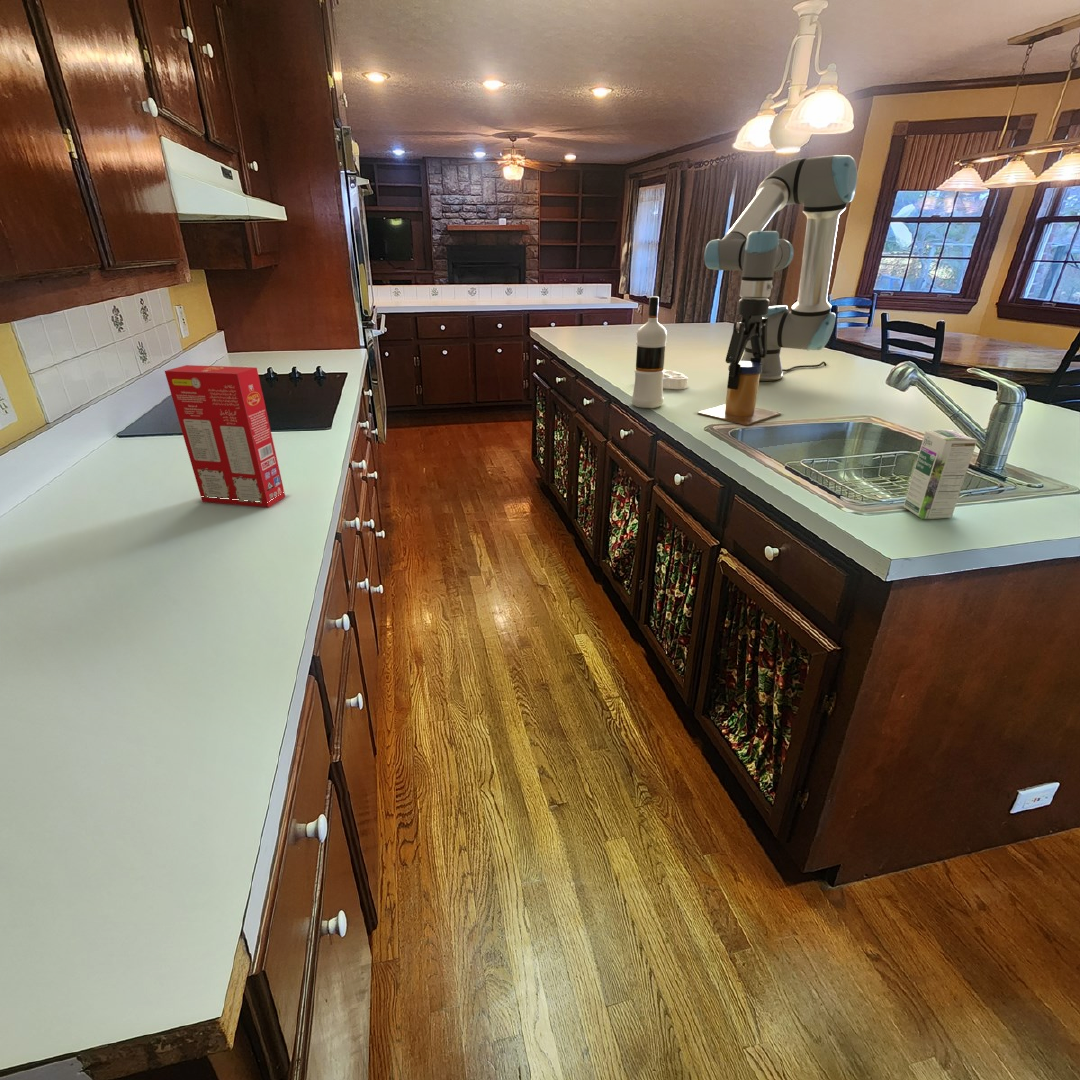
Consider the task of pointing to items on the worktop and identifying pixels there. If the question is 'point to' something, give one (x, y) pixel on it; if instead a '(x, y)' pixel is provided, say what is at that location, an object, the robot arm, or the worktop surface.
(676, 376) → the white brass knuckles
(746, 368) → the lid
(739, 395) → the jar
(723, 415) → the trivet
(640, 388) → the vodka
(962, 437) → the syrup box
